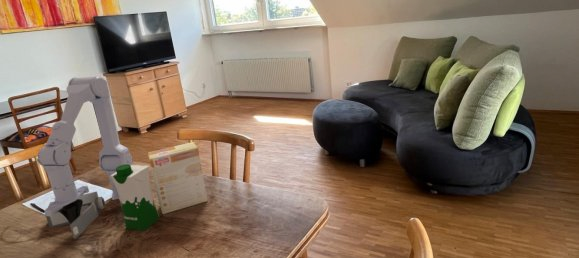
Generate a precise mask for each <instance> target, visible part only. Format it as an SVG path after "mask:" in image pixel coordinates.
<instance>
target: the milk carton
mask: <svg viewBox="0 0 579 258" xmlns="http://www.w3.org/2000/svg"><path fill="white" fill-rule="evenodd" d="M110 177H111V179H112V181H113V183H114V184H115V186H116V188H117V192H118V196H119V199H118V200H119V202H120V207H121V210H122V215H123V220H124V224H125V229H126V230H132V231H133V230H134V231H135V230H136V231H141V232H146V230H148V229H149V228H150V227H151V226H153V224H154V223H156V222H157V221H158V220H160V215H159V213H158V210H157V207H156V203H155V200H154V195H153V190H152V187H151V182H150V166H149V165H138V164H132V165H129V164H125V165H121V166H118V167H117V168H116V172H115V173H114V174H112V175H110Z"/></svg>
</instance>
